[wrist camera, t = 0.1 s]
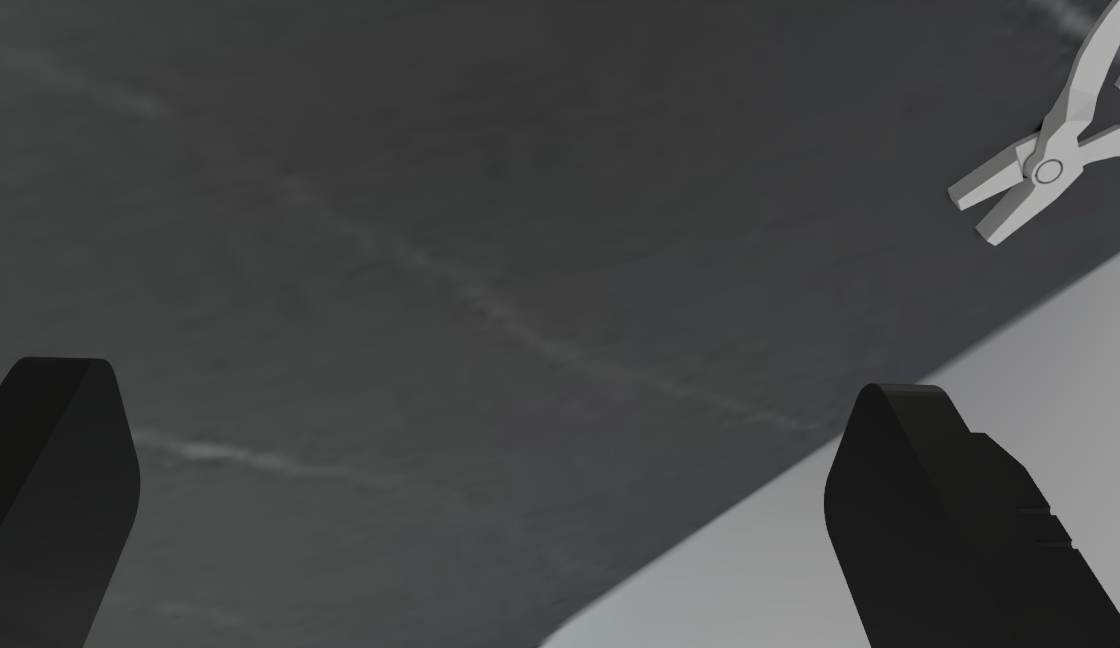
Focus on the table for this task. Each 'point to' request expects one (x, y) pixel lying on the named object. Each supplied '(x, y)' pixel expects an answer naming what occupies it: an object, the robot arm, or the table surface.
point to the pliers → (1049, 143)
